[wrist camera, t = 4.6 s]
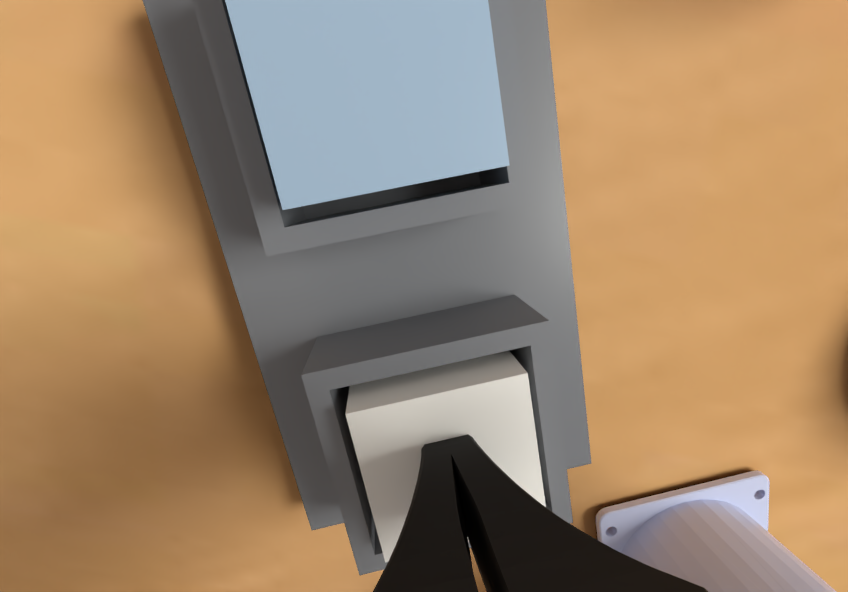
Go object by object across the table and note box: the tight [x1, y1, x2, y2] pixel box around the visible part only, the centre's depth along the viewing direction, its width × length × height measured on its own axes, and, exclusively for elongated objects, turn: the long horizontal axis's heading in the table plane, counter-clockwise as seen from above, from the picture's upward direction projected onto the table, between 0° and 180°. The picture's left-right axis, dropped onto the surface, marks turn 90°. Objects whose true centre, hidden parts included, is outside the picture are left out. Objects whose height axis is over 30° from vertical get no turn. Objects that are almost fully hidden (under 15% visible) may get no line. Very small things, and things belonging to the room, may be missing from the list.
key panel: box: [143, 0, 591, 575], centre depth 13 cm, size 18×11×4 cm, turn 11°
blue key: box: [225, 0, 510, 210], centre depth 9 cm, size 5×5×3 cm
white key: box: [345, 350, 546, 562], centre depth 13 cm, size 5×5×3 cm
